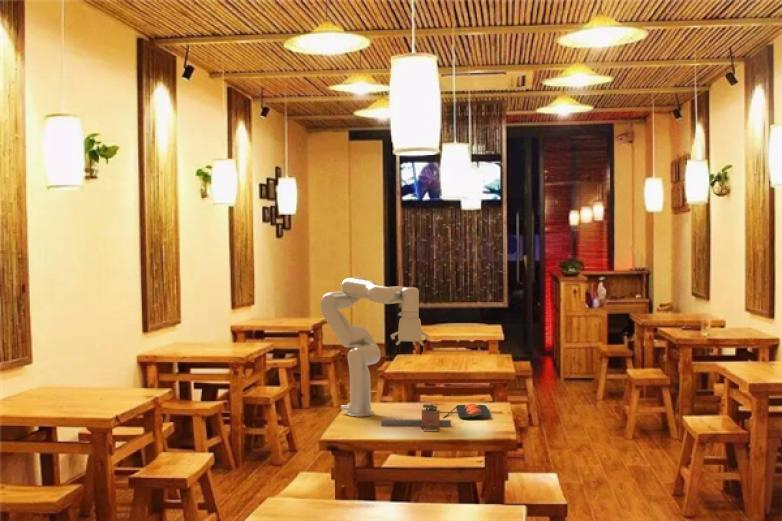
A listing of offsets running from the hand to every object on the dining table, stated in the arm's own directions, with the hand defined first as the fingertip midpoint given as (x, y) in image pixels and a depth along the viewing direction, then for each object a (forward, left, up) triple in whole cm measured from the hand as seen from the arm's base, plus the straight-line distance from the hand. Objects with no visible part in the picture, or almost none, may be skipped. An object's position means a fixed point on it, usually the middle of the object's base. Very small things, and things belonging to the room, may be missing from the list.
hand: (409, 354), depth 379 cm
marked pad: (+10, -15, -30) cm, 35 cm away
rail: (+3, -8, -30) cm, 31 cm away
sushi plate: (+20, +18, -31) cm, 41 cm away
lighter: (+10, -15, -30) cm, 34 cm away
